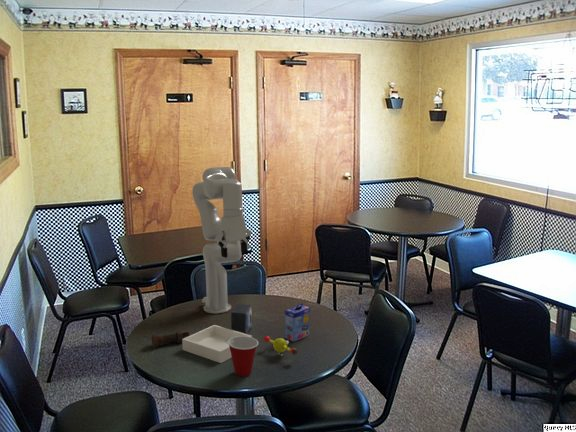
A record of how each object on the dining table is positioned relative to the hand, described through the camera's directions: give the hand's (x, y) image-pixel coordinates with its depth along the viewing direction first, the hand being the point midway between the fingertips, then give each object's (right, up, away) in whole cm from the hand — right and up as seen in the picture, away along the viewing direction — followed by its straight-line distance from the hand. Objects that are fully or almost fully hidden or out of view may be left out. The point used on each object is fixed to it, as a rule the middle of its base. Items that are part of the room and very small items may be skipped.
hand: (234, 254), depth 234 cm
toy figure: (+19, -37, -13) cm, 44 cm away
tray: (-6, -36, -6) cm, 37 cm away
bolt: (-25, -36, -1) cm, 43 cm away
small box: (+2, -33, +10) cm, 35 cm away
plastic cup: (+6, -40, -27) cm, 49 cm away
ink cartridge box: (+25, -34, +4) cm, 43 cm away
